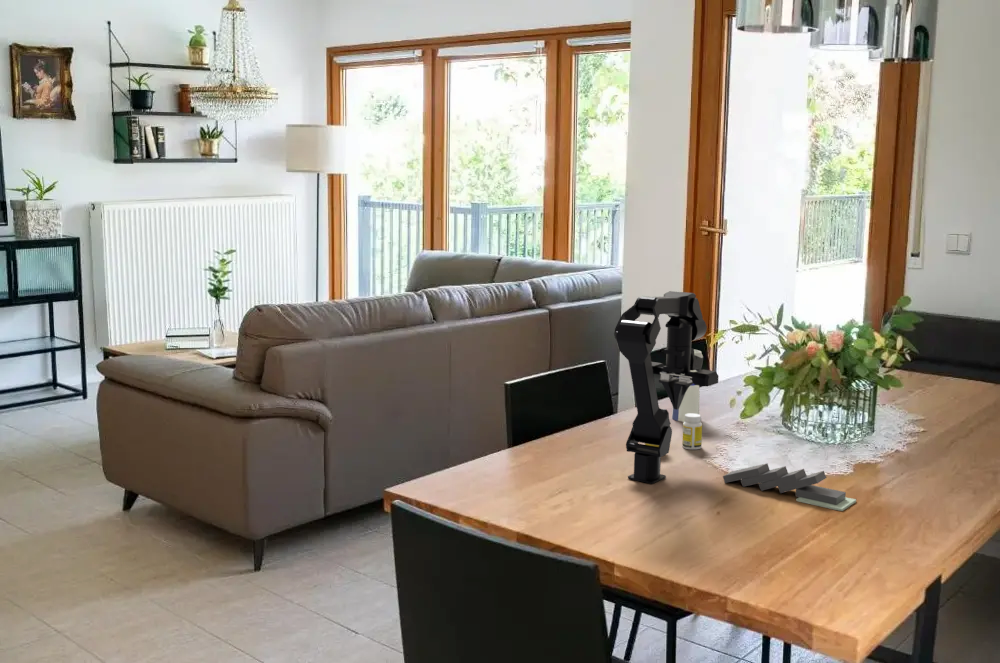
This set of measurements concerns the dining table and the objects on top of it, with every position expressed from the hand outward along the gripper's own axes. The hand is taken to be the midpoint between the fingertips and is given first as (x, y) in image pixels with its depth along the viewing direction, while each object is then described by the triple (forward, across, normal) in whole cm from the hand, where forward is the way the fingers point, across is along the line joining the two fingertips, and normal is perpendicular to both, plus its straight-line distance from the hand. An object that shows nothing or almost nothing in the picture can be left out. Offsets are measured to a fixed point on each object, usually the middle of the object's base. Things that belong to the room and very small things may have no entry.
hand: (676, 409), depth 248 cm
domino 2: (+12, -21, +4) cm, 25 cm away
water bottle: (+13, +19, -39) cm, 45 cm away
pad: (+13, -40, +4) cm, 42 cm away
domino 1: (+12, -17, +4) cm, 21 cm away
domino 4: (+12, -30, +4) cm, 32 cm away
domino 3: (+12, -25, +4) cm, 29 cm away
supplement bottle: (+13, +3, -14) cm, 19 cm away
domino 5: (+12, -34, +4) cm, 36 cm away
